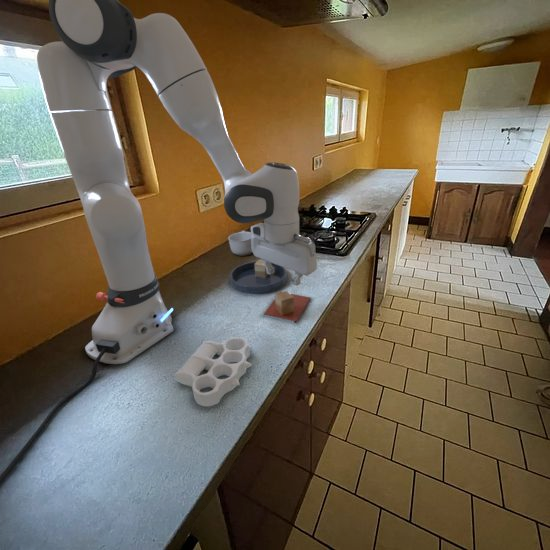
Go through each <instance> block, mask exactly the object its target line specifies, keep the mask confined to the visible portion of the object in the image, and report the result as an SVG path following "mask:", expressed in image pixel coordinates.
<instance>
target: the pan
mask: <svg viewBox="0 0 550 550" xmlns="http://www.w3.org/2000/svg"><path fill="white" fill-rule="evenodd" d="M257 261H258V260H256V261H250V262H249V261H248V262H245V263H242V264H239V265H238V266H235V267H234V268H233V269H232V270H231V271H230V273H229V281H230V285H231V287H232V288H233V289H234V290H236V291H238V292H241V293H244V294H250V295H261V294H268V293H271V292H274V291H277V290H279V289H280V288H282V287H283V286H284V285H285V284H286V283H287V278H288V277H287V271H286V270H287V269H286V268H285V267H282V266H279V265H277V264H274V263H271V264H272V267H274V271H275V273H274V274H272V275H268V276H267V277H266V278H261V277H255V265H254V264H255V263H256V262H257Z"/></svg>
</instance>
